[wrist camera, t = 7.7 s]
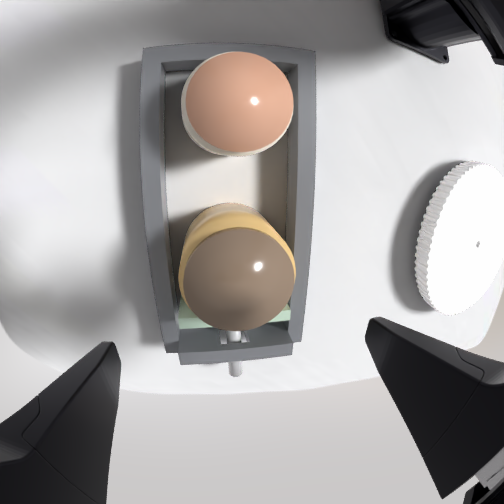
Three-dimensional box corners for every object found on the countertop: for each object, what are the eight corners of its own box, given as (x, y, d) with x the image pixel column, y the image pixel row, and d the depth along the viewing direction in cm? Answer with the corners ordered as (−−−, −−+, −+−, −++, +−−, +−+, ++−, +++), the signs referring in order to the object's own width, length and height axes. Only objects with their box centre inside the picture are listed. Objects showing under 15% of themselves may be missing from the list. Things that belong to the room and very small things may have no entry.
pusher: (279, 288, 18) (290, 310, 16) (275, 356, 20) (283, 380, 18) (180, 294, 17) (177, 318, 15) (191, 363, 19) (191, 389, 17)
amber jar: (272, 285, 18) (294, 329, 14) (187, 290, 17) (184, 338, 13) (275, 201, 16) (304, 223, 12) (181, 204, 16) (171, 228, 11)
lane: (303, 59, 13) (323, 44, 11) (293, 326, 20) (306, 352, 17) (149, 58, 12) (138, 40, 9) (168, 336, 18) (164, 365, 16)
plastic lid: (387, 307, 21) (403, 322, 19) (425, 139, 17) (448, 141, 14) (471, 298, 24) (485, 308, 22) (502, 179, 19) (519, 184, 17)
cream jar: (238, 56, 13) (254, 30, 9) (287, 123, 15) (317, 117, 11) (164, 104, 13) (156, 89, 9) (217, 173, 15) (227, 180, 11)
